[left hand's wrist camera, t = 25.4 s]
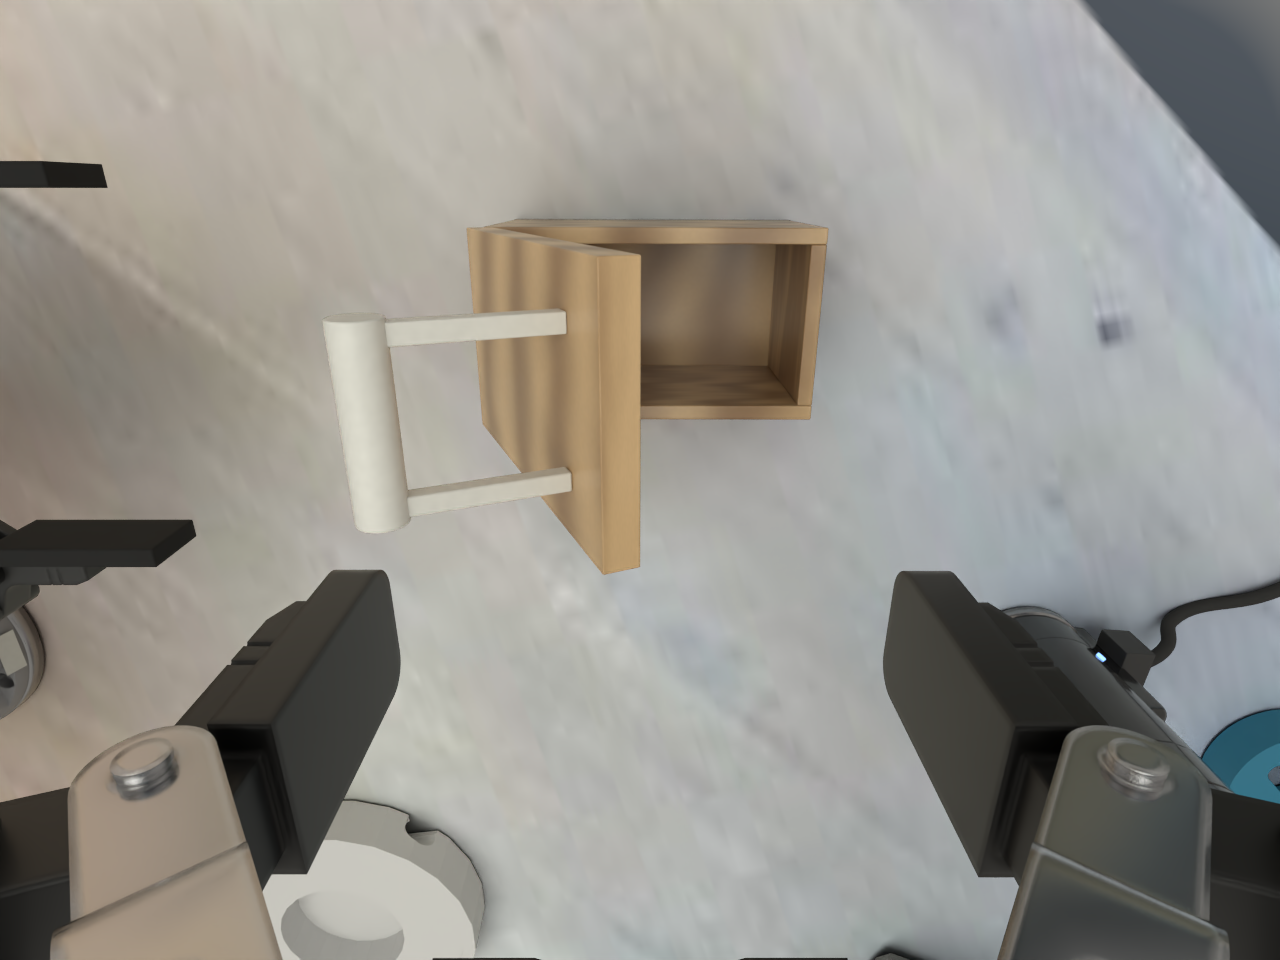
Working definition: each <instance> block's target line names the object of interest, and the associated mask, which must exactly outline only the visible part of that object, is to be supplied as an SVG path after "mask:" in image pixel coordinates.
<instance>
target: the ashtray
mask: <svg viewBox="0 0 1280 960" xmlns="http://www.w3.org/2000/svg"><path fill="white" fill-rule="evenodd" d="M407 822H409V815H408V814H405V813H403V812H400V811H398V810H395V809H392V808H390V807H385V806H380V805H374V804H369V803H364V802H358V801H343V802H342V804H341V806H340V808H339V810H338V812H337V814H336V816H335V818H334V820H333V822H332V824H331V826H330V828H329V830H328V832H327V834H326V836H325V838H324V841H323V843H322V845H321V847H320V849H319V851H318V853H317V855H316V857H315V859H314V861H313V863H312V865H311V867H310V869H309V871H308V873H307V874H272V875H271V877H270V879H269V880H268V882H267V884H266V886H265V888H264V890H263V895H264V899H265V902H266V905H267V909H268V912H269V915H270V919H271V922H272V925H273V929H274V932H275V935H276V939H277V942H278V945H279V949H280V952H281V955H282V959H283V960H432V959H433V958H474V954H475V950H476V946H477V941H478V937H479V932H480V927H481V923H482V918H483V914H484V909H485V904H484V896H483V889H482V883H481V881H480V879H479V877H478V875H477V873H476V871H475V869H474V867H473V865H472V863H471V861H470V860H469V859H468V857H467V856H466V855H465V854H464V853H463V852H462V851H461V850H460V849H459V848H458V847H457V846H456V845H455V844H454V842H453V841H452V840H451V839H450V838H448V837H447V836H445V835H444V834H442V833H441V832H439V831H429V832H420V833H411V834H408V833H407V832H406V830H405V825H406V823H407Z"/></svg>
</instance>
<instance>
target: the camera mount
mask: <svg viewBox="0 0 1280 960" xmlns="http://www.w3.org/2000/svg"><path fill="white" fill-rule="evenodd" d="M1202 760H1203V761H1204V762H1205V763H1206V764H1207V765H1208V766H1209V767H1210V768H1211V769H1212V770H1213V771H1214V772H1215V773H1216V774H1217V775H1218V776H1219V777H1220V778H1221V779H1222V780H1223V781H1224V782H1225V783H1226V784H1227V785H1228V786H1229V787H1230V788H1231V789H1232V790H1233V791H1234V792H1235V793H1236V794H1238V795H1243V796H1247V797H1252V798H1256V799H1261V800H1265V801H1270V802H1274V803H1279V804H1280V786H1278V787H1275V786H1274V784H1273V783H1272V782H1271V781H1270V780H1269V779H1268V773H1269V772H1270V771H1271V770H1272V769H1273V768H1274V767H1277V766H1280V709H1279V710H1271V711H1265V712H1261V713H1258V714H1255V715H1252V716H1249V717H1247V718H1244V719H1242V720H1240V721H1238V722H1236V723H1235V724H1233V725H1231V726H1230V727H1228V728H1227V729H1226V730H1225V731H1223V732H1222V733H1221V734H1220V735H1219V736H1218V737H1217V738H1216V739H1215V740H1214V741H1213V742H1212V743H1211V745H1210V746H1209V747H1208V749H1207V750H1206V752H1205V754H1204V756H1203V758H1202Z"/></svg>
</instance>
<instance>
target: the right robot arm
mask: <svg viewBox="0 0 1280 960" xmlns="http://www.w3.org/2000/svg"><path fill="white" fill-rule="evenodd" d="M0 188H107V184H106V180H105V176H104V172H103V168H102V164H84V163H66V162H47V161H0ZM194 537H196V533H195V529H194V525H193V521H192V520H35V521H34V522H32V523H30V524H28V525H26V526H24V527H23V528H21V529H19V530H16V529H14V528H13V527H11V526H9V525H8V524H6V523H4V522H3V521H1V520H0V719H2V718H3V717H5V716H7V715H8V714H10V713H11V712H12V711H13V710H15V709H16V708H17V707H18V706H20V705H21V704H22V703H23V702H24V701H25V700H27V699H28V698H29V697H30V696H31V695H32V693H33V692H34V691H35V689H36V688H37V686H38V684H39V682H40V680H41V677H42V673H43V668H44V654H43V647H42V643H41V640H40V637H39V634H38V632H37V630H36V628H35V625H34V624H33V622H32V620H31V619H30V617H29V615H28V614H27V613H26V611H25V610H24V608H23V607H22V606H23V605H25V604H26V603H28V602H29V601H31V600H32V599H34V598H35V597H37V596H38V594H39V586H38V585H52V584H53V585H62V584H63V585H78V584H80V583H83V582H85V581H88V580H89V579H91V578H92V577H93V576H95V575H96V574H98V573H99V572H101V571H102V570H103V569H105V568H106V567H157V566H158V565H160V564H161V563H162V562H163V561H165V560H166V559H167V558H169V557H170V556H171V555H172V554H174V553H175V552H176V551H178V550H179V549H180V548H181V547H183V546H184V545H185V544H187V543H188V542H189V541H190V540H192V539H193V538H194Z"/></svg>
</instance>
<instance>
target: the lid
mask: <svg viewBox="0 0 1280 960" xmlns="http://www.w3.org/2000/svg"><path fill="white" fill-rule="evenodd" d="M467 239H468V251H469V263H470V275H471V287H472V300H473V312H474V314H460V315H444V316H428V317H411V318H395V319H386V317H385V316H384V315H381V314H376V313H348V314H339V315H332V316H328V317H326V318H324V319H323V320H322V324H323V330H324V336H325V342H326V349H327V355H328V361H329V367H330V373H331V380H332V386H333V392H334V398H335V405H336V411H337V417H338V423H339V430H340V436H341V442H342V448H343V455H344V461H345V467H346V473H347V479H348V486H349V492H350V498H351V504H352V511H353V517H354V523H355V527H356V528H357V529H358V530H359V531H361V532H364V533H372V534H378V533H387V532H392V531H395V530H398V529H401V528H403V527H404V526H406V525H407V524H408V523H409V522H410V520H411V517H415V516H422V515H428V514H434V513H440V512H446V511H452V510H458V509H465V508H471V507H477V506H483V505H489V504H495V503H502V502H508V501H514V500H520V499H526V498H532V497H538V496H541V498H542V499H543V500H544V501H545V503H546V504H547V505H548V506H549V508H550V509H551V510H552V511H553V513H554V514H555V515H556V516H557V518H558V519H559V520H560V521H561V523H562V524H563V525H564V526H565V528H566V529H567V530H568V531H569V533H570V534H571V535H572V536H573V538H574V539H575V540H576V541H577V543H578V544H579V545H580V546H581V548H582V549H583V550H584V551H585V553H586V554H587V555H588V556H589V558H590V559H591V560H592V561H593V563H594V564H595V565H596V566H597V568H598V569H599V570H600V571H601V573H602V574H604V575H605V574H609V573H614V572H619V571H623V570H628V569H633V568H638V567H640V402H641V255H639V254H634V253H628V252H623V251H618V250H612V249H607V248H601V247H596V246H591V245H585V244H580V243H575V242H569V241H564V240H558V239H553V238H548V237H542V236H537V235H531V234H526V233H521V232H515V231H510V230H505V229H499V228H494V227H483V228H467ZM467 341H476V348H477V360H478V373H479V385H480V397H481V409H482V421H483V425H484V426H485V428H486V429H487V430H488V431H489V433H490V434H491V435H492V436H493V438H494V439H495V440H496V441H497V443H498V444H499V445H500V446H501V448H502V449H503V450H504V451H505V453H506V454H507V455H508V456H509V458H510V459H511V460H512V461H513V463H514V464H515V465H516V466H517V468H518V469H519V470H520V471H521V473H520V474H513V475H506V476H500V477H493V478H486V479H480V480H473V481H466V482H459V483H453V484H446V485H439V486H432V487H426V488H419V489H412V490H408V488H407V480H406V472H405V465H404V457H403V449H402V441H401V433H400V425H399V417H398V410H397V402H396V394H395V386H394V378H393V370H392V362H391V355H390V347H400V346H414V345H427V344H440V343H453V342H467Z"/></svg>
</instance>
